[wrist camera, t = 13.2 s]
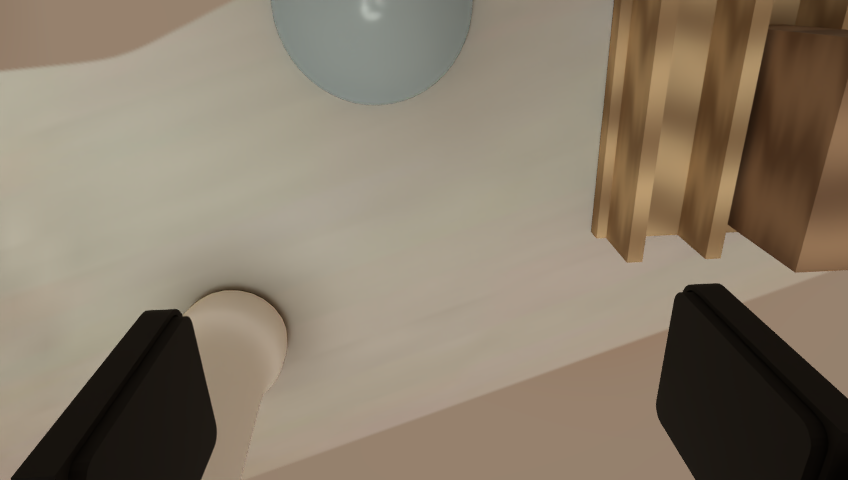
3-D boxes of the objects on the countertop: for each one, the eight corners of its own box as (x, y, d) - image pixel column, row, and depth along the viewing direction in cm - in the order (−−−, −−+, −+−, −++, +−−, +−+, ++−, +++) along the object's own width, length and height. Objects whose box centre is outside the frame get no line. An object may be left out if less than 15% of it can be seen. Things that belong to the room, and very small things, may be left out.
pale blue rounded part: (261, -107, 32) (256, -111, 31) (470, -113, 32) (473, -118, 31) (288, 104, 37) (284, 108, 36) (469, 97, 37) (472, 101, 36)
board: (736, 26, 34) (858, 38, 25) (784, 24, 35) (923, 36, 25) (703, 207, 39) (795, 272, 30) (745, 205, 39) (849, 269, 30)
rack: (615, -5, 35) (649, -5, 30) (897, -15, 35) (976, -16, 30) (591, 231, 41) (616, 263, 36) (829, 220, 42) (885, 250, 37)
